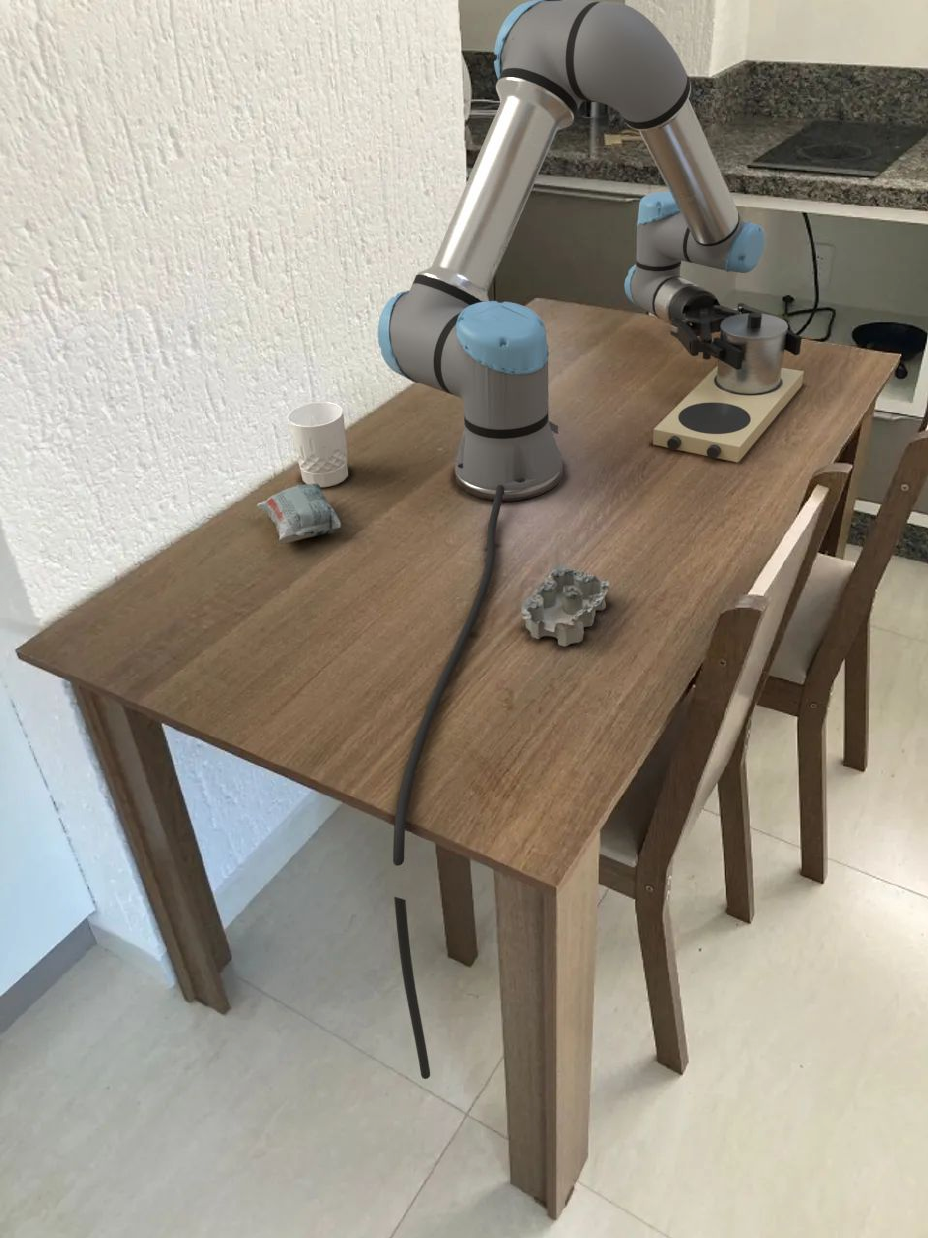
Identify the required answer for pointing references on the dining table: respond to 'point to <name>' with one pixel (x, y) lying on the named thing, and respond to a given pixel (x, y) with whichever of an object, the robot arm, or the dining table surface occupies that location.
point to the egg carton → (564, 605)
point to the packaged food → (300, 513)
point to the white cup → (319, 442)
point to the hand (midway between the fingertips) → (769, 353)
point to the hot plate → (724, 418)
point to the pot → (753, 353)
